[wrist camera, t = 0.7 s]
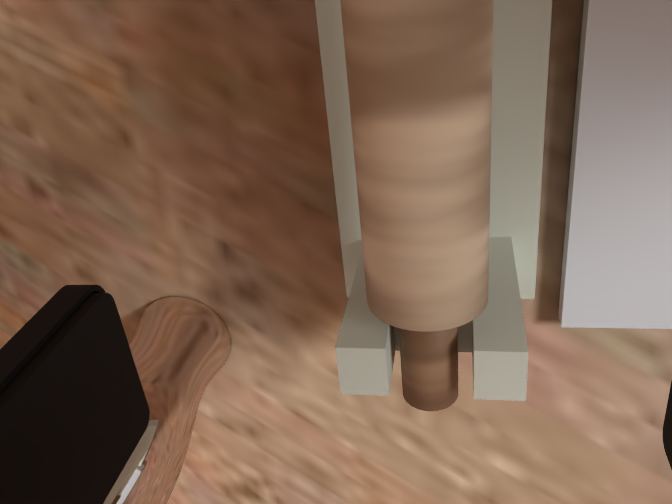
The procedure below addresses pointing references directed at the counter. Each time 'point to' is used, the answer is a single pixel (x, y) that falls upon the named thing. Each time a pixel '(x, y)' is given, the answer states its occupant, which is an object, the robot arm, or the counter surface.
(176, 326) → the beer glass
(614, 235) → the pastry board
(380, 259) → the rolling pin
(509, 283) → the pin stand
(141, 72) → the counter surface
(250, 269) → the counter surface
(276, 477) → the counter surface
